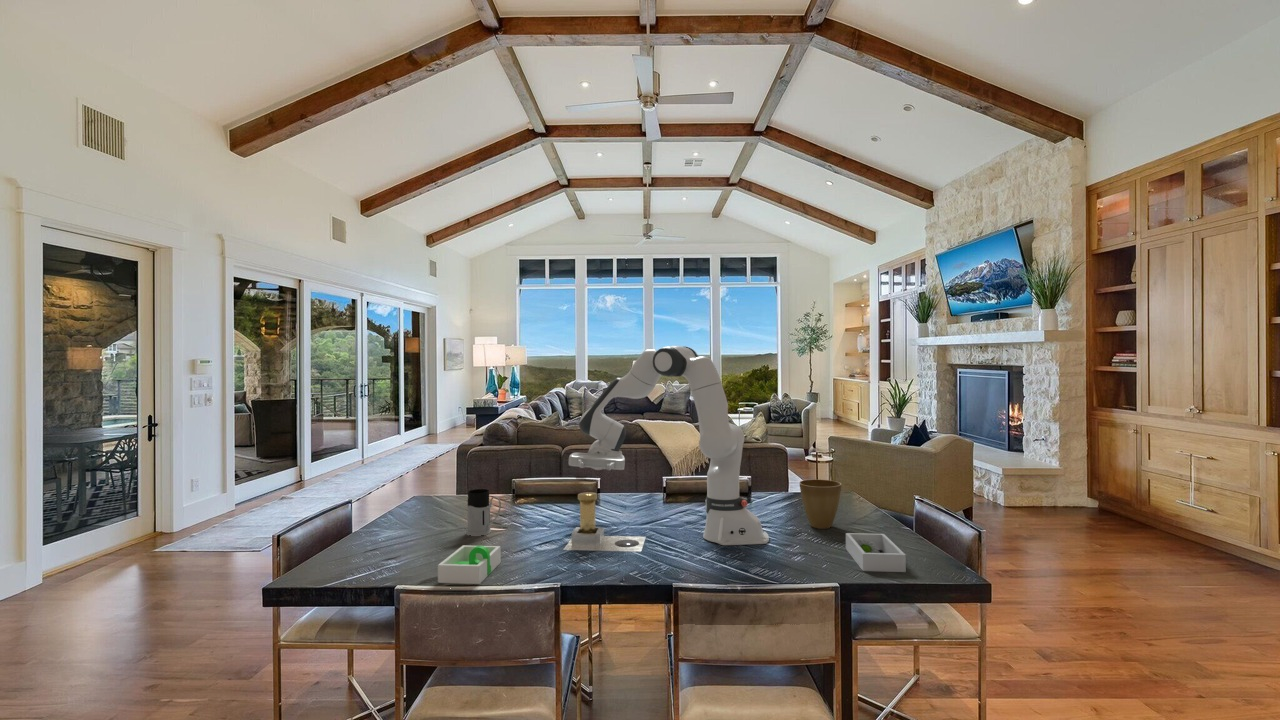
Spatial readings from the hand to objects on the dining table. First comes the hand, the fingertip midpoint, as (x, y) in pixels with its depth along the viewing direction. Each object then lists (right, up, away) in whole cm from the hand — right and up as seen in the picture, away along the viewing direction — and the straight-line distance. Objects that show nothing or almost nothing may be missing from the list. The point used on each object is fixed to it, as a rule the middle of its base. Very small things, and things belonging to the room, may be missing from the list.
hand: (595, 466), depth 212 cm
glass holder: (-40, -25, +6) cm, 48 cm away
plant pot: (+82, -24, +12) cm, 86 cm away
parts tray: (-34, -25, -34) cm, 54 cm away
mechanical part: (-34, -25, -34) cm, 54 cm away
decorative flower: (+87, -24, -27) cm, 94 cm away
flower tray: (+87, -24, -26) cm, 94 cm away
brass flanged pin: (-2, -23, -11) cm, 26 cm away
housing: (+4, -25, -11) cm, 27 cm away
